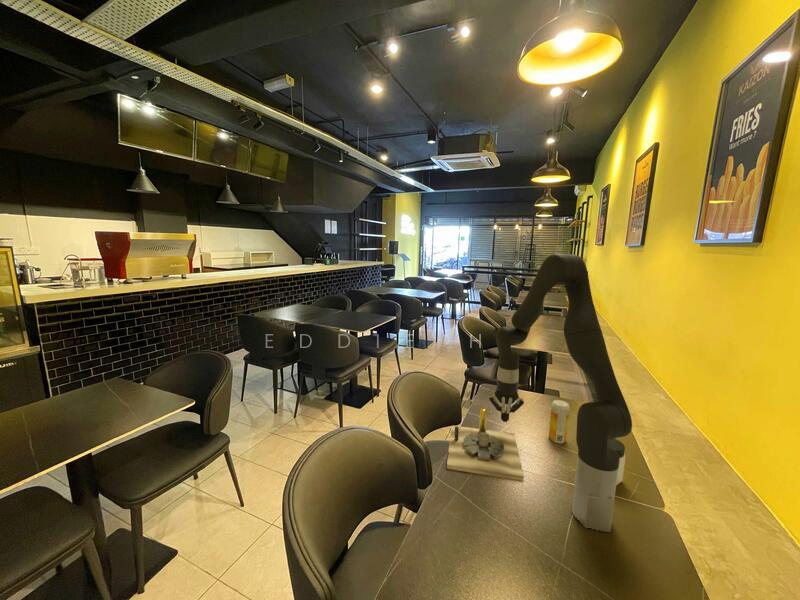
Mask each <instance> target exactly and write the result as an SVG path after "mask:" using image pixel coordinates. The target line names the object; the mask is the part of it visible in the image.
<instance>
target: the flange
mask: <svg viewBox="0 0 800 600" xmlns="http://www.w3.org/2000/svg"><path fill="white" fill-rule="evenodd" d="M487 416H488V409H487V408H485V407H480V409H479V423H478V425H479V426H478V429H479V432H477V435H476V434H475V433H471V434H469V435H467V436H466V437H465V438H464V442H463V448H465V451H466V452H468V453H469V454H470V455H471V456H473V457H474V456H476V455H478V459H483V460H490V457H491V458H493V459H494V460H496V459H498V458H500V457H502V456H503V453H504V444H503V443H501V440H499V439H498V438H496V437H495V436H493V435H492V436H490V437H488V445H489V446H490V447H489V448H487V449H485V448H480V447H479V446H477V445H476V444H478V443H479V434H480V433H482V432H483V433H486V430H487V421H488V419H487V418H488V417H487Z"/></svg>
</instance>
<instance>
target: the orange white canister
mask: <svg viewBox="0 0 800 600" xmlns="http://www.w3.org/2000/svg"><path fill="white" fill-rule="evenodd" d="M550 406H551V407H550V416H549V417H550V418H549V429H548V438H550V440H551V441H552V442H553V443H555V444H561V445H562V444H565V443H566V442H567V438H568V429H569V428H568V426H569V417H570V411H571V410H570V409H571V407H570V403H568V402H567V401H564V400H562V399H554V400H553V401H552V402H551V405H550Z"/></svg>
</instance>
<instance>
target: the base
mask: <svg viewBox="0 0 800 600" xmlns="http://www.w3.org/2000/svg"><path fill="white" fill-rule="evenodd" d="M460 427H461V428H460ZM459 429H460V430H459ZM477 432H479V428H476V427H475V428H474V427H467V426H466V427H465V426H460V425H451V429H450V434H449V435H450V436H449V444H448V445H449V446H448V451H447V452H448V453H449V454H448V453H447V459H446V460H447V462H446V469H447V470H452V471H458V472H466V473H471V474H478V475H484V476H490V477H498V478H502V479H503V478H504V479H509V480H510V479H511V480H515V481H523V482H524V479H525V477H524V472H523V468H522V463H521V458H520V454H519V448H518V443H517V440H516V436H515V433H513V432H505V431H498V430H489V429H486V433H483V432H482V433H480V434H479V443H478V444H476V445H477V446H479V447H480V448H485V449H487V448H489V447H490V446H489V445H488V437H490V436H492V435H493V436H495V437H496V438H498V439H499V440H501V443H503V444H504V453H503V456H502V457H500V458H498V459H496V460H494V459H493V458H491V457H490V460H483V459H478V455H476V456H474V457H473V456H471V455H470V454H469V453H468V452H466V451H465V448H463V442H464V438H465V437H466V436H467V435H469V434H471V433H475V434H476V435H477ZM455 438H456V439H455ZM454 440H455V441H454Z"/></svg>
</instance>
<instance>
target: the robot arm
mask: <svg viewBox="0 0 800 600" xmlns="http://www.w3.org/2000/svg"><path fill="white" fill-rule="evenodd" d="M589 279H590V278H589V274H588V268H587V265H586V262H585V261H584V259H583V258H582V257H581V256H579V255H576V254H570V253H551V254H550V255H548V256H547V257H546V258H545V259H544V260H543V261H542V263H541V265H540V267H539V269H538V271H537V273H536V275H535V277H534V280H533V282H532V284H531V286H530V287H529V290H528V292H527V294H526V296H525V298H524V299H523V301H522V303H521V304H520V305H519V307H518V308H516V311H515V312H514V313H513V315H512V316H511V323H512V325H507V326H501V327H499V328H498V329H497V331H496V333H495V341H496V342H495V343H496V346H497V351H498V355H499V357H498V368H497V374H496V389H495V391H494V393H493V394H490V395H489V396H488V397H489V402H491V403H492V405H493V407H494V408H495V409H496V411H498V412H500V419H501V421H502V422H504V423H507V422H509V420H510V414H511V413H512V414H513V413H516V412H517V411H518V410H519V409H520V408H521V407H523V405H524V404H525V401H524V399H523V398H521V397H520V396H519V393H518V391H519V390H518V389H519V378H520V376H519V375H520V373H519V367H520V365H519V364H520V355H519V352H518V351H516V350H512V346H516V345H520V344H523V343H524V342H525V341H526V340H527V339H528V336H529V333H530V330H531V328H532V326H533V325H534V324H535V323H536V321H537V320H538V319H539V318H540V316H541V315H542V313H543V309H544V301H545V298H546V296H547V295H548V293H549V292H550V291H551V289H553V288H554V287H555V286H556V285H557V286H563V287H564V289H565V292H566V295H567V300H568V306H567V312H566V315H565V319H564V323H563V335H564V338H565V343H566V346H567V350H568V352H569V355H570V357H571V358H572V360H573V361H574V362H575V364H576V365H577V366H578V367H579V368H580V369H581V370H582V372H584V374H585V375H586V376H587V377H588V379H589V380H590V383H591V384H592V386H593V389H594V391H595V395H596V399H597V400H596V401H589V402H583V404H581V405H580V406H579V408H578V411H577V416H576V435H575V438H576V439H575V440H576V446H577V451H578V452H577V460H576V469H575V479H574V486H573V496H572V504H571V505H572V506H571V511H572V514H573V517H575V518H577V519H576V520H577V521H578V520H579V521H580V522H579V521H578V522H579V523H580V524H581V525H582V526H583V527H585V528H584V529H587V528H592V529H591V530H593V529H595V530H594V531H599V530H600V531H599V532H604V533H605V532H606V533H611V530H612V521H613V514H614V507H615V496H616V490H617V485H616V483H617V476H618V469H619V461H620V459H619V455H618V453H617V452H616V451H615V450H614V449H613V448H611V447H610V446H608V445H607V444H608V439H613V438H615V439H618V438H623V437H626V436H628V435H630V433H631V432H632V429H633V428H632V427H633V422H632V421H633V420H632V419H633V418H632V416H631V412H630V410H629V407H628V405H627V402H626V400H625V397H624V395H623V393H622V390H621V388H620V386H619V383H618V380H617V378H616V375H615V372H614V369H613V366H612V365H613V364H612V362H611V359H610V357H609V353H608V349H607V345H606V341H605V338H604V333H603V332H602V330H603V329H602V328H601V325H600V323H599V319H598V316H597V310H596V308H595V307H596V306H595V304H594V300H593V297H592V296H593V295H592V291H591V285H590V284H591V283H590V280H589ZM498 402H499V403H500V405H499V403H498Z"/></svg>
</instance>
